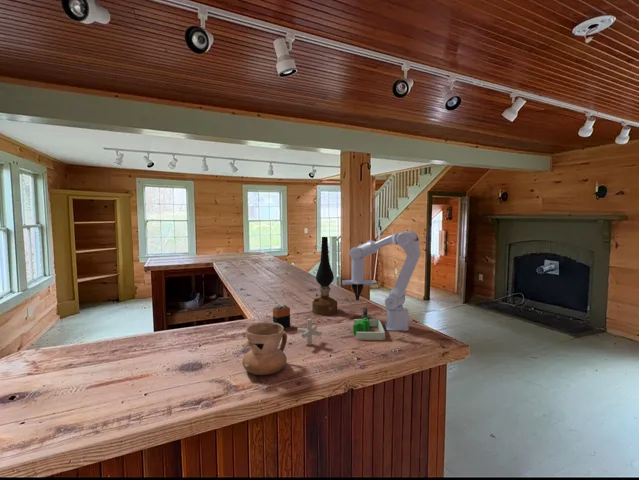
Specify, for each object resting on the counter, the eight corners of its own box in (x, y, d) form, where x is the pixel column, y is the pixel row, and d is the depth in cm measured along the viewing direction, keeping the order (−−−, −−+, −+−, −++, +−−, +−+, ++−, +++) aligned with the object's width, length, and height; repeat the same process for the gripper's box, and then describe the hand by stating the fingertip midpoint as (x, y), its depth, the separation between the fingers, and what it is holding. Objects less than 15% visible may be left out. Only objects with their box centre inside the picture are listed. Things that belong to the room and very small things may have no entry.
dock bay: (379, 325, 147) (379, 319, 146) (384, 339, 131) (385, 332, 131) (353, 325, 147) (353, 319, 147) (356, 339, 131) (356, 332, 131)
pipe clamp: (361, 337, 135) (361, 326, 134) (353, 335, 137) (353, 324, 136) (372, 328, 144) (372, 318, 143) (364, 327, 146) (364, 317, 145)
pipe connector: (326, 341, 130) (326, 317, 129) (315, 351, 121) (315, 325, 120) (304, 337, 134) (303, 314, 133) (292, 346, 125) (292, 321, 124)
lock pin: (369, 323, 146) (369, 312, 145) (364, 323, 146) (364, 312, 145) (367, 317, 154) (367, 307, 153) (363, 317, 154) (363, 307, 153)
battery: (272, 327, 145) (272, 305, 145) (285, 324, 149) (285, 303, 148) (277, 330, 142) (276, 308, 141) (290, 327, 146) (290, 305, 145)
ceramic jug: (255, 387, 96) (255, 341, 95) (230, 369, 106) (230, 328, 105) (300, 367, 109) (301, 326, 108) (274, 353, 119) (274, 316, 118)
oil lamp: (341, 316, 171) (356, 242, 171) (326, 319, 158) (342, 239, 158) (319, 309, 178) (334, 238, 178) (304, 311, 165) (319, 235, 165)
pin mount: (370, 324, 148) (371, 316, 148) (361, 324, 148) (361, 316, 148) (370, 322, 151) (370, 314, 151) (361, 322, 152) (361, 314, 151)
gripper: (342, 273, 150) (342, 301, 151) (373, 273, 148) (373, 302, 150) (342, 270, 157) (342, 297, 158) (372, 270, 155) (372, 298, 157)
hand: (357, 299), depth 154 cm, fingers closed
